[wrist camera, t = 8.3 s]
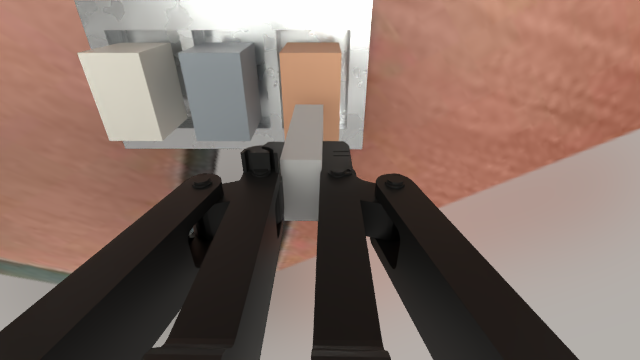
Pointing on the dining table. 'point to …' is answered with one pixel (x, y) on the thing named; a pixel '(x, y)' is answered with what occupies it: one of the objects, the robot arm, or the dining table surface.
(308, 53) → the orange block
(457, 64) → the dining table surface
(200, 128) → the slate key
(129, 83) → the cream block
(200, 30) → the grey tray
